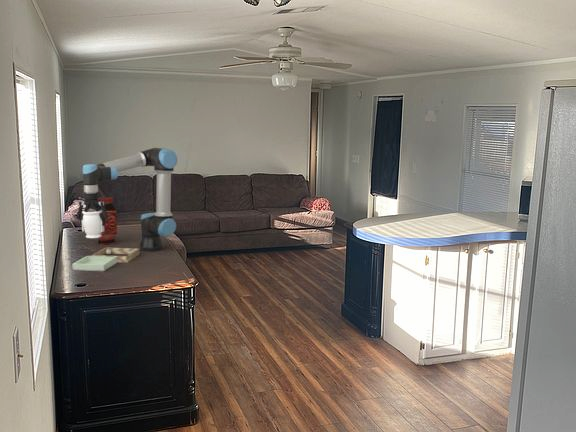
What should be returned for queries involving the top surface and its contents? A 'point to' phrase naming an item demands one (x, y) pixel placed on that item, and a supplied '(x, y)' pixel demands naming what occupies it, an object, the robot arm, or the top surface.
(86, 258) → the bin
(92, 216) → the jar
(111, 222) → the vase
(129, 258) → the bin
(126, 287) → the top surface
